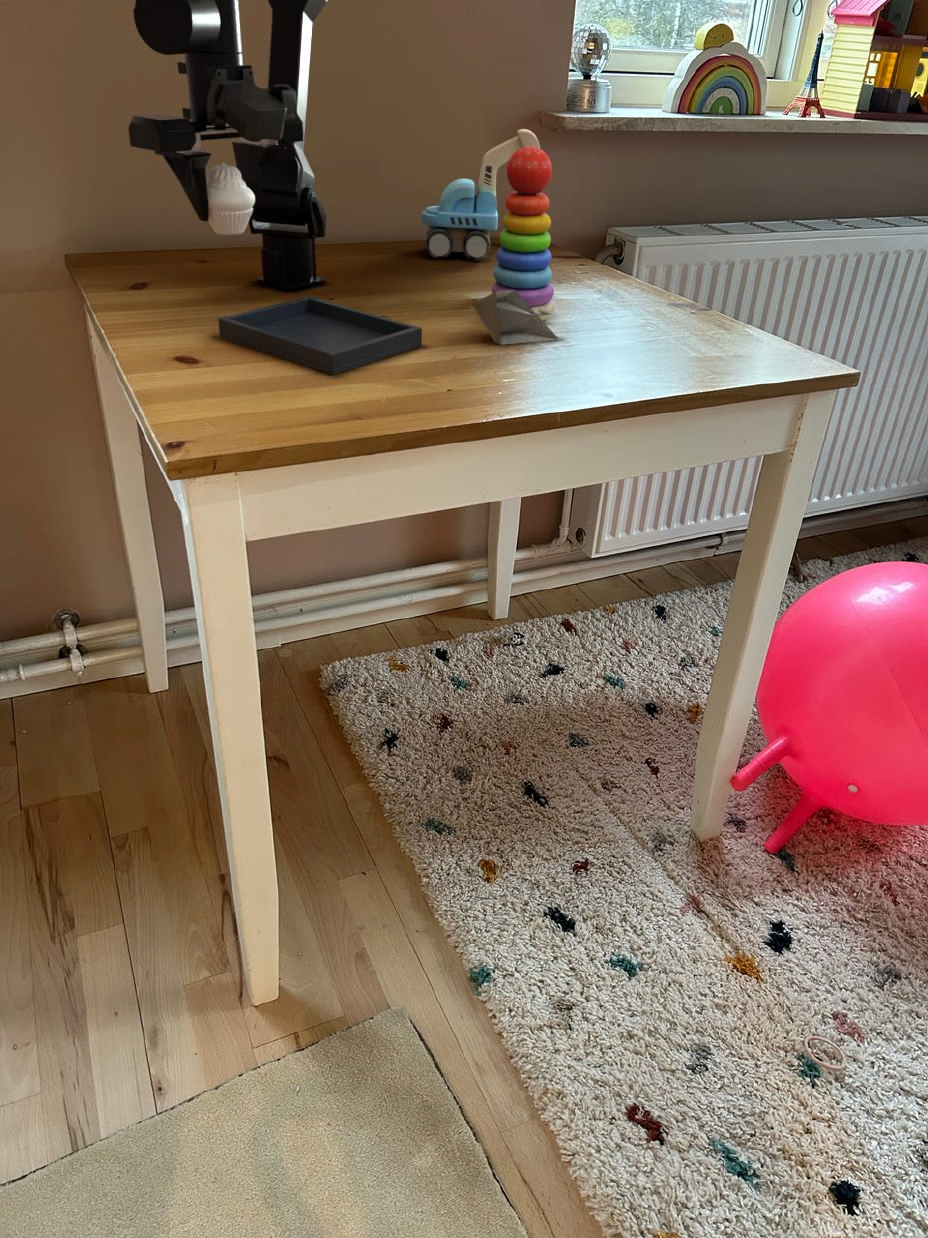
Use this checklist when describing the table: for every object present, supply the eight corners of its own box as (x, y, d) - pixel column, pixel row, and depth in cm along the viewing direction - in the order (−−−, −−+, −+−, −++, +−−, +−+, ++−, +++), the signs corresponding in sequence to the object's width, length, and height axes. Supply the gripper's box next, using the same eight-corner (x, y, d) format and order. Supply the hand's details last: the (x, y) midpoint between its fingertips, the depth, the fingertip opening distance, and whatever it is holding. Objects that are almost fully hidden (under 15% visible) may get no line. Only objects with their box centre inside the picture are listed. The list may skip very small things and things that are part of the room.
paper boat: (523, 313, 113) (587, 308, 107) (511, 365, 113) (574, 363, 107) (458, 268, 104) (524, 259, 98) (445, 324, 104) (510, 319, 98)
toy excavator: (533, 264, 140) (543, 134, 131) (420, 259, 140) (422, 128, 130) (530, 251, 147) (539, 127, 138) (423, 246, 147) (424, 121, 138)
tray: (310, 314, 114) (309, 296, 112) (422, 346, 105) (422, 327, 103) (219, 337, 104) (217, 318, 103) (333, 375, 95) (332, 354, 94)
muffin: (227, 224, 109) (222, 156, 105) (269, 231, 106) (264, 162, 102) (188, 232, 104) (180, 161, 100) (230, 240, 102) (224, 168, 98)
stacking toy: (484, 306, 120) (493, 140, 109) (547, 307, 120) (561, 142, 110) (491, 324, 113) (501, 149, 103) (557, 325, 114) (574, 152, 103)
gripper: (186, 57, 86) (204, 240, 94) (336, 56, 98) (340, 218, 106) (114, 49, 91) (137, 223, 100) (264, 50, 104) (274, 204, 112)
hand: (227, 217), depth 104 cm, fingers closed on muffin, 6 cm apart
